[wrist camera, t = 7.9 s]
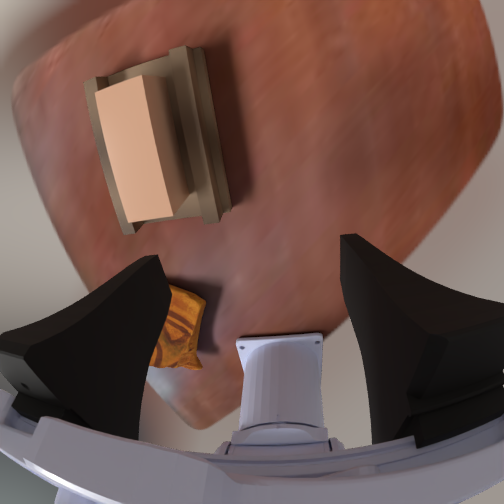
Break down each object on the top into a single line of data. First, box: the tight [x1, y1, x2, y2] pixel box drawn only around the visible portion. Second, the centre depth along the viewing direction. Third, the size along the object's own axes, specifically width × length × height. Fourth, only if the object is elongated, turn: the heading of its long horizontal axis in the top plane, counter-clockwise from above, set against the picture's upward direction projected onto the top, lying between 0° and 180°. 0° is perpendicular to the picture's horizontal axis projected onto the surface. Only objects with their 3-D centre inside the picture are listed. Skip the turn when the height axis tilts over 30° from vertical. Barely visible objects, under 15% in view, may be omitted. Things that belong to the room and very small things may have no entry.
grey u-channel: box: [83, 45, 232, 235], centre depth 17 cm, size 11×8×2 cm
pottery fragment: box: [149, 285, 206, 370], centre depth 25 cm, size 10×5×10 cm
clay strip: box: [95, 75, 190, 223], centre depth 15 cm, size 8×3×4 cm, turn 8°
